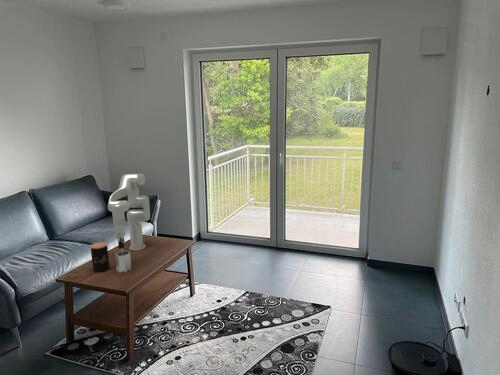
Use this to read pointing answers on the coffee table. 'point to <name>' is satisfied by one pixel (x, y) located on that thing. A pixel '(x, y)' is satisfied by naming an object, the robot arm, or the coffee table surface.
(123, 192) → the robot arm
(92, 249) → the coffee jar
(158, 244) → the coffee table surface
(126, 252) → the press carafe
